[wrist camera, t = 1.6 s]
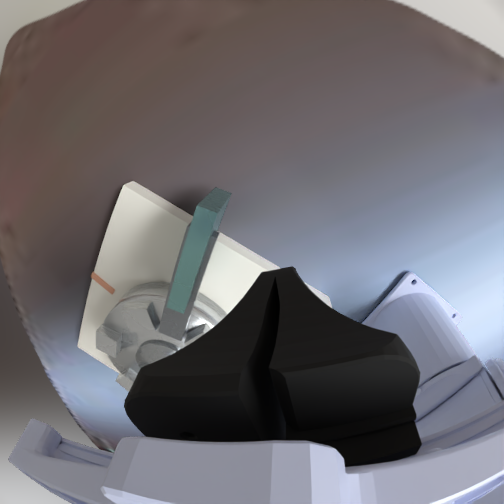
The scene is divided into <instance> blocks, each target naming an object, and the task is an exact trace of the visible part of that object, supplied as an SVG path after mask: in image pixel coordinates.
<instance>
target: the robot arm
mask: <svg viewBox="0 0 504 504" xmlns="http://www.w3.org/2000/svg"><path fill="white" fill-rule="evenodd" d="M414 279H415V281H414V282H413V283H411V282H412V281H413V280H414ZM461 320H462V315H461V314H460V313H459V312H458V311H457V310H456V309H454V308H453V307H452V306H451V305H450V304H449V303H448V302H447V301H446V300H444V299H443V298H442V297H441V296H440V295H439V294H438V293H436V292H435V291H434V290H433V289H432V288H431V287H429V286H428V285H427V284H426V283H425V282H424V281H422V280H421V279H420V278H419V277H418V276H416V275H415V274H414V273H413V272H408V273H406V274H405V275H404V276H403V278H402V279H401V280H400V281H399V282H398V284H397V285H396V286H395V287H394V288H393V289H392V291H391V292H390V293H389V294H388V295H387V296H386V297H385V299H384V300H383V301H382V302H381V303H380V304H379V305H378V306H377V307H376V309H375V310H374V311H373V312H372V313H371V314H370V315H369V316H368V317H367V318H366V319H365V320H364V321H363V322H362V323H359V322H356V321H354V320H352V319H350V318H348V317H346V316H344V315H342V314H340V313H339V312H337V311H335V310H334V309H332V308H331V307H330V306H328V305H327V304H326V303H324V302H323V301H322V300H321V299H320V298H319V297H318V296H316V295H315V294H314V293H313V292H312V291H311V290H310V289H309V287H308V286H307V285H306V284H305V283H304V282H303V281H302V279H301V278H300V276H299V275H298V273H297V271H296V269H295V268H294V267H286V268H281V269H276V270H270V271H265V272H261V273H260V275H259V276H258V277H257V279H256V280H255V282H254V283H253V285H252V286H251V287H250V289H249V290H248V291H247V293H246V294H245V295H244V297H243V298H242V299H241V300H240V301H239V302H238V304H237V305H236V306H235V307H234V308H233V309H232V310H231V311H230V312H229V313H228V314H227V315H226V316H225V317H224V318H223V319H222V320H221V321H220V322H219V323H218V324H217V325H215V326H214V327H213V328H212V329H210V330H209V331H208V332H206V333H205V334H203V335H202V336H201V337H199V338H198V339H197V340H195V341H194V342H192V343H190V344H189V345H187V346H185V347H184V348H182V349H180V350H178V351H177V352H175V353H173V354H171V355H169V356H167V357H165V358H162V359H160V360H158V361H156V362H153V363H151V364H149V365H146V366H144V367H141V369H140V370H139V372H138V374H137V376H136V379H135V381H134V383H133V385H132V387H131V389H130V391H129V393H128V395H127V397H126V399H125V404H124V408H125V411H126V414H127V415H128V417H129V418H130V420H131V421H132V422H133V424H134V425H135V426H136V427H137V428H138V429H139V430H140V431H141V432H142V433H143V434H144V435H145V436H146V437H125V438H122V439H121V440H120V442H119V443H118V445H117V447H116V450H115V452H114V453H111V452H107V451H103V450H100V449H96V448H93V447H89V446H86V445H83V444H80V443H76V442H73V441H70V440H68V439H65V438H62V436H61V435H60V434H59V433H58V432H57V431H56V430H55V429H54V428H52V427H51V426H50V425H48V424H46V423H44V422H41V421H38V420H36V419H31V420H30V422H29V423H28V425H27V427H26V429H25V430H24V432H23V433H22V435H21V437H20V439H19V440H18V442H17V444H16V446H15V447H14V449H13V451H12V453H11V455H10V457H9V459H8V460H9V462H11V463H12V464H13V465H14V466H15V467H17V468H18V469H19V470H21V471H22V472H23V473H25V474H26V475H27V476H29V477H30V478H31V479H33V480H34V481H35V482H37V483H38V484H40V485H41V486H43V487H44V488H46V489H47V490H49V491H50V492H52V493H54V494H55V495H57V496H59V497H61V498H63V499H64V500H66V501H68V502H70V503H72V504H504V362H503V360H502V359H493V358H490V359H489V360H488V361H487V362H486V363H485V365H486V367H487V368H488V369H487V368H486V367H485V366H484V364H483V363H482V362H481V361H480V359H479V357H478V356H477V354H476V353H475V351H474V350H473V348H472V347H471V345H470V344H469V342H468V341H467V340H466V338H465V337H464V335H463V334H462V332H461V331H460V330H459V328H458V327H457V325H458V323H459V322H460V321H461ZM488 370H489V371H488Z"/></svg>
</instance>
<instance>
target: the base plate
mask: <svg viewBox="0 0 504 504" xmlns="http://www.w3.org/2000/svg"><path fill="white" fill-rule="evenodd" d="M192 219H193V216H192V215H190V214H188V213H187V212H185V211H183V210H182V209H180V208H178V207H177V206H175V205H173V204H171V203H170V202H168V201H166V200H165V199H163V198H161V197H160V196H158V195H156V194H155V193H153V192H151V191H149V190H148V189H146V188H144V187H143V186H141V185H139V184H138V183H136V182H134V181H132V182H130V183H127V184H125V185H123V187H122V190H121V192H120V195H119V198H118V200H117V203H116V205H115V208H114V211H113V214H112V216H111V219H110V222H109V225H108V228H107V231H106V234H105V237H104V240H103V243H102V246H101V249H100V253H99V256H98V259H97V263H96V266H95V270H94V272H92V275H91V278H92V281H91V285H90V289H89V293H88V297H87V302H86V306H85V311H84V315H83V320H82V325H81V330H80V336H79V341H78V347H79V348H80V349H82V350H83V351H85V352H86V353H88V354H89V355H91V356H92V357H94V358H95V359H97V360H98V361H100V362H102V363H103V364H105V365H106V366H108V367H110V368H111V369H113V370H114V371H116V372H118V373H120V372H119V371H118V370H117V368H116V367H115V366H114V365H113V363H112V362H111V360H110V359H109V357H108V355H107V354H106V353H104V352H102V351H100V350H98V349H96V331H97V329H98V328H99V327H100V325H101V324H103V323H104V320H105V318H106V317H107V315H108V314H109V312H110V311H111V310H112V309H113V307H114V306H115V305H116V304H117V302H118V301H119V300H120V299H121V297H122V296H123V295H124V294H125V293H126V292H127V291H129V290H130V289H131V288H133V287H135V286H137V285H140V284H144V283H149V282H169V283H171V279H172V275H173V272H174V268H175V265H176V261H177V258H178V254H179V251H180V248H181V244H182V241H183V238H184V234H185V231H186V228H187V226H188V225H189V223H190V222H191V221H192ZM217 232H219V231H217ZM276 269H281V268H280V267H278V266H276V265H275V264H273V263H271V262H269V261H268V260H266V259H264V258H263V257H261V256H259V255H258V254H256V253H254V252H253V251H251V250H249V249H248V248H246V247H244V246H242V245H241V244H239V243H237V242H236V241H234V240H232V239H231V238H229V237H227V236H226V235H224V234H222V233H219V236H218V239H217V242H216V244H215V247H214V250H213V253H212V255H211V258H210V261H209V264H208V267H207V269H206V272H205V275H204V278H203V281H202V284H201V286H200V289H199V292H200V293H202V294H203V295H205V296H207V297H208V298H210V299H211V300H212V301H214V302H215V303H216V304H218V305H219V306H220V307H221V308H222V309H223V310H224V311H225V312H226V313H227V314H228V313H229V312H230V311H231V310H232V309H233V308H234V307H235V306H236V305H237V304H238V302H239V301H240V300H241V299H242V298H243V297H244V295H245V294H246V293H247V291H248V290H249V289H250V287H251V286H252V285H253V283H254V282H255V280H256V279H257V277H258V276H259V275H260V273H261V272H265V271H270V270H276ZM304 283H305V282H304ZM305 284H306V285H307V286H308V287H309V289H310V290H311V291H312V292H313V293H314V294H315V295H316V296H318V297H319V298H320V299H321V300H322V301H323V302H324V303H326V304H327V305H328V306H330V307H331V308H332V305H331V302H330V298H329V296H327V295H325V294H323V293H322V292H320V291H318V290H317V289H315V288H313V287H312V286H310V285H308V284H307V283H305Z"/></svg>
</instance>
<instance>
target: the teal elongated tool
mask: <svg viewBox="0 0 504 504" xmlns="http://www.w3.org/2000/svg"><path fill="white" fill-rule="evenodd" d="M231 194H232V193H229V192H227V191H224V190H222V189H219V188H214V189H213V190H212V191H211V192H210V193H209V194H208V195H207V196H206V197H205V198H204V199H203V200H202V201H201V202H200V203H199V204H198V205H197V207H196V210H195V213H194V216H193V219H192V221H191V222H190V223H189V225H188V226H187V228H186V231H185V234H184V238H183V241H182V244H181V248H180V251H179V254H178V258H177V261H176V265H175V268H174V272H173V275H172V279H171V283H169V282H149V283H144V284H140V285H137V286H135V287H133V288H131V289H130V290H129V291H127V292H126V293H125V294H124V295H123V296H122V297H121V299H120V300H119V301H118V302H117V304H116V305H115V306H114V307H113V309H112V310H111V311H110V312H109V314H108V315H107V317H106V318H105V320H104V323H103V324H101V325H100V327H99V328H98V329H97V331H96V349H98V350H100V351H102V352H104V353H106V354H107V355H108V357H109V359H110V360H111V362H112V363H113V365H114V366H115V367H116V368H117V370H118V371H119V372H120V373H119V375H118V377H117V379H116V382H117V383H119V384H120V385H121V386H122V387H124V388H125V389H126V390H127V391H130V389H131V387H132V385H133V383H134V381H135V379H136V376H137V374H138V372H139V370H140V369H141V367H144V366H146V365H149V364H151V363H153V362H156V361H158V360H160V359H162V358H165V357H167V356H169V355H171V354H173V353H175V352H177V351H178V350H180V349H182V348H184V347H185V346H187V345H189V344H190V343H192V342H194V341H195V340H197V339H198V338H199V337H201V336H202V335H203V334H205V333H206V332H208V331H209V330H210V329H212V328H213V327H214V326H215V325H217V324H218V323H219V322H220V321H221V320H222V319H223V318H224V317H225V316H226V315H227V313H226V312H225V311H224V310H223V309H222V308H221V307H220V306H219V305H218V304H216V303H215V302H214V301H212V300H211V299H210V298H208V297H207V296H205V295H203V294H202V293H200V292H199V289H200V286H201V284H202V281H203V278H204V275H205V272H206V269H207V267H208V264H209V261H210V258H211V255H212V253H213V250H214V247H215V244H216V242H217V239H218V236H219V233H220V232H217V231H218V228H219V226H220V223H221V220H222V217H223V215H224V212H225V209H226V207H227V204H228V201H229V199H230V196H231Z"/></svg>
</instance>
